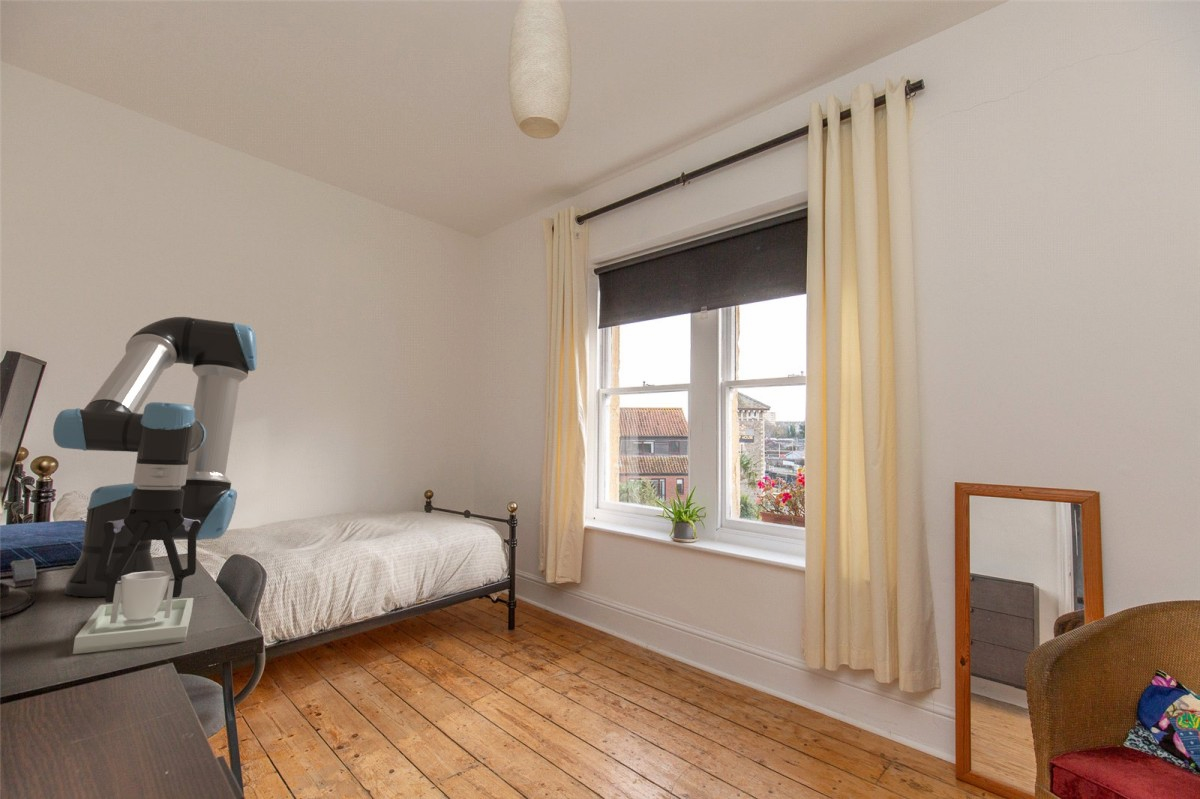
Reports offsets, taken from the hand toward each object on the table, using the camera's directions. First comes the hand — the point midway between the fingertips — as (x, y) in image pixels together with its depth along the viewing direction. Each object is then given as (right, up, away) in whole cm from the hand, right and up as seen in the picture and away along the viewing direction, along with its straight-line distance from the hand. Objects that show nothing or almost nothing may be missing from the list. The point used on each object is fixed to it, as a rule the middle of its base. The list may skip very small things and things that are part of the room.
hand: (141, 618), depth 97 cm
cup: (0, -1, 0) cm, 1 cm away
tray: (0, -2, 0) cm, 2 cm away
